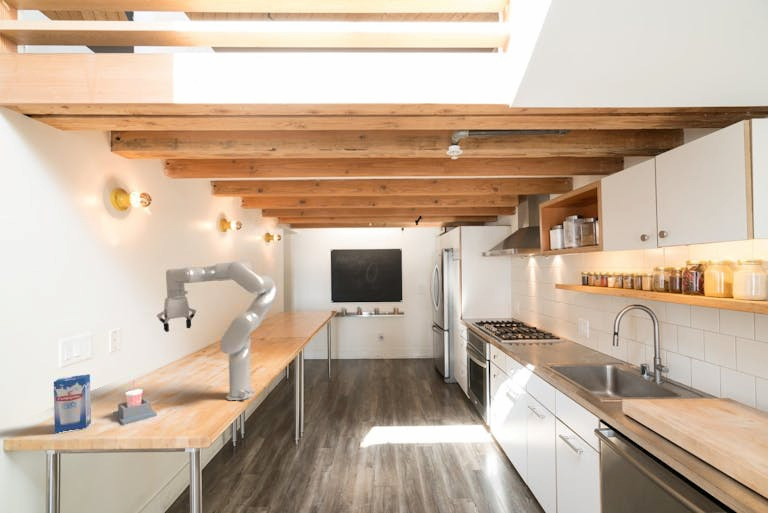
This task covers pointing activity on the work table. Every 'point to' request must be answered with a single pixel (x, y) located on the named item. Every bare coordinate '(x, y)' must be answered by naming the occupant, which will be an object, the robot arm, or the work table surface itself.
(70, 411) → the blue white food package
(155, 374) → the work table surface
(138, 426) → the work table surface
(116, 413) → the grey cup holder
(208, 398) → the work table surface
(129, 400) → the beverage cup
